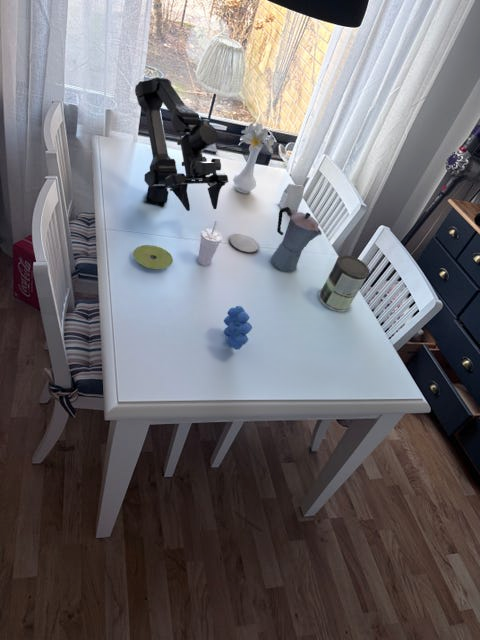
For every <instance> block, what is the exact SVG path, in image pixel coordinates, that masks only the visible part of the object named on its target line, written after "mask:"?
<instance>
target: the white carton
mask: <svg viewBox="0 0 480 640" xmlns="http://www.w3.org/2000/svg"><path fill="white" fill-rule="evenodd" d="M304 192H305V185H300V184H294V183H288V185H286V188H285V189H284V190H283V192H282V195H281V197H280V200H279V203H278V206H279V208H280V209H283V208H285V207H289V208H290V209H291V210H293V211H295V212H298V210H299V208H300V205H301V203H302V200H303V198H304Z"/></svg>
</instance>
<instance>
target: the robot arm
mask: <svg viewBox="0 0 480 640" xmlns="http://www.w3.org/2000/svg"><path fill="white" fill-rule="evenodd" d="M134 94H135V97H136V99H137V103H138V105H139V107H140V108H141V109H142V111H143V112H144V114H145V119H146V126H147V131H148V136H149V143H150V148H151V155H152V160H151V162H150V165H149V170H148V171H147V172H146V173H145V174H144V182H145V183H146V185H147V191H146V196H145V200H144V202H145V203H146V204H150V205H154V206H158V207H162V208H163V207H164V208H165V205H166V204H167V202H168V197H169V192H173V194H174V195H175V196H176V197H177V198H178V200H179V201H180V203H181V205H183V207H184V209H185V210H186V211H187V212H190V210H191V207H190V206H191V205H190V201H189V194H188V185H199V184H201V185H202V184H207V186H209V187H207V192H208V195H209V199H210V204H211V207H212V209H213V210H217V207H218V202H219V195H220V192H221V189H222V187H225V186H226V184H227V183H229V176H228V175H227V173H226V172H217V171H221V170H222V164H221V159H220V158H211V161H208V160H207V158H206V156H203V151H205V150H206V149H208V148H210V147H211V146H213V145H214V144H216V143H217V141H218V140H219V139H218V138H219V135H218V132H217V130H216V128H215V127H214V126H213V125H211V122H210V120H209V119H201V116H200V114H199V113H198V112H197V111H196V110H195V109H194V108H192V107H190V106H187V105H186V103H184V101H183V100H182V98H181V97H180V95H179V94H178V92H177V91H176V89H175V88H174V87H173V85H172V81H171V80H170V79H168V78H165V77H153V78H152V79H148V80H147V79H146V80H144V81H143V80H140V81H139V82H138V83H137V84H135V87H134ZM163 104H164V106H165V107H166V109H167V111H168V112H169V114H170V116H171V119H170V123H171V125H172V127H173V129H174V131H175V132H176V133H178V134H185V135H180V136H179V139H178V140H177V143H176V144H177V146H180V148H181V154H182V160H183V161H182V162H181V166H182V167H184V171H185V173H184V172H183V173H182V172H181V173H179V172H178V169H177V164H176V160H175V158H171V157H170V156H169V152H168V146H167V141H166V135H165V129H164V123H163V119H162V112H161V109H162V107H163Z"/></svg>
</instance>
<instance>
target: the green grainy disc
mask: <svg viewBox="0 0 480 640" xmlns="http://www.w3.org/2000/svg"><path fill="white" fill-rule="evenodd" d="M132 255H133V258H134V260H135V261H136V262H137V263H138V264H139V265H141V266H144V267H145V268H148V269H152V270H164V269H168V268H170V266H172V264H173V262H174V259H173V256H172V254H171V253H170V252H169V251H168V250H167V249H164V248H162V247H161V246H157V245H153V244H152V245H150V244H143V245H140V246H137V247H135V249H134V250H133V252H132Z"/></svg>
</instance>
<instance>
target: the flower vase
mask: <svg viewBox="0 0 480 640" xmlns="http://www.w3.org/2000/svg"><path fill="white" fill-rule="evenodd" d="M263 127H264V126H263V123H257V124H256V125H255V126H254V123H252V122H251V123H249V125H248V126H245V129H242V130H241V131H240V132H241V134H242V135H241V136H240V138H239V141H240V142H239V144H238V146H240V145H241V144H243V143H245V144H247V145H249V147H248V151H249V155H248V158H247V161H246V163H245V165H244V167H243V168H242V169H241V170H240V171H238V172H237V173H235V174H234V176H233V178H232V181H233V184H234V189H235V191H237V192H239V193H241V194H249V193H250V192H251V191H253V190H255V189H256V187H257V180H256V179H257V178H256V177H255V173H254V171H255V170H254V169H255V165H256V162H257V158H258V156H259V154H260V152H261V149H262V148H263V147H264V146H263V145H265V146H266V148H267V149H268V151H269V152H270V153H271V154H274V150H273V147H272V146H274V144H275V138H274V137H273V132H270V135H269V134H268V133H269V132H268V128H266V127H264V128H263Z"/></svg>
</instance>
